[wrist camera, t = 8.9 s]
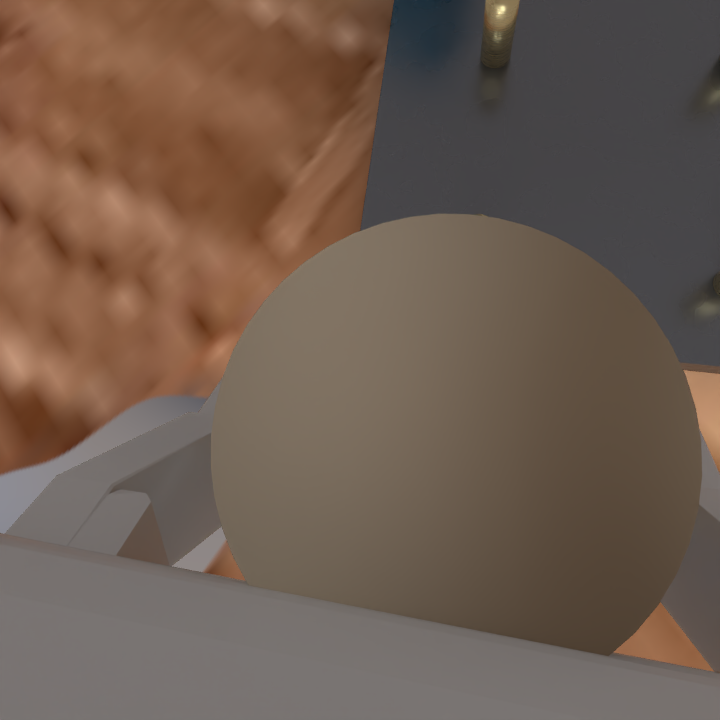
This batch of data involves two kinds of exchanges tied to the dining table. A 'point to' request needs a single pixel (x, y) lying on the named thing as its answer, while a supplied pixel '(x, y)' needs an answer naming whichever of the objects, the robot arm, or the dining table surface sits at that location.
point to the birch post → (460, 435)
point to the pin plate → (567, 137)
